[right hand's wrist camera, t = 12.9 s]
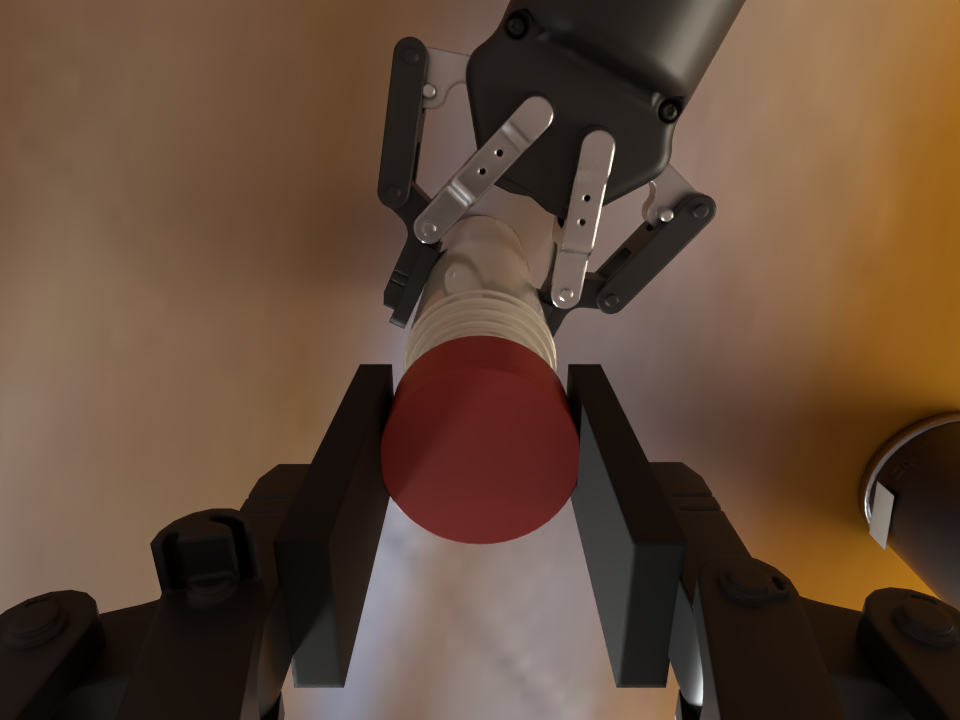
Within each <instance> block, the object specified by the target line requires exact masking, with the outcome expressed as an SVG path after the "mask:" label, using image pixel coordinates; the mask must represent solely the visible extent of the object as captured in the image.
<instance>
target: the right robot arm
mask: <svg viewBox="0 0 960 720" xmlns="http://www.w3.org/2000/svg"><path fill="white" fill-rule="evenodd" d="M393 398H394V392H393V375H392V364H360V365H359V367H358V369H357V372H356V374H355V376H354V378H353V380H352V382H351V384H350V386H349V388H348V390H347V392H346V394H345V396H344V398H343V400H342V402H341V404H340V406H339V408H338V410H337V412H336V414H335V416H334V418H333V420H332V422H331V424H330V426H329V428H328V430H327V432H326V434H325V436H324V438H323V440H322V442H321V444H320V446H319V449H318V451H317V453H316V455H315V457H314V459H313V461H312V463H311V464H278V465H277V466H276V467H274V468H273V469H271V470H270V471H269V472H267V473H266V474H265V475H263V476H262V477H261V478H259V480H258V481H257V483H256V485H255V486H254V488H253V489H252V491H251V493H250V494H249V499H246V501H245V502H244V504H243V506H242V507H241V509H240V511H238V510H234V509H231V508H229V509H209V510H204V511H200V512H195V513H192V514H189V515H187V516H185V517H182V518H180V519H178V520H175V521H174V522H172V523H171V524H169V525H168V526H167V527H165V528H164V529H162V530H161V531H159V533H158V534H157V535H156V537H155V538H154V539H153V541H152V542H151V543H150V545H151V549H152V554H153V558H154V562H155V566H156V570H157V574H158V579H159V583H160V587H161V591H162V595H161V597H160V599H158V600H155V601H152V602H149V603H145V604H142V605H138V606H133V607H129V608H124V609H120V610H115V611H111V612H107V613H102V614H99V611H98V608H97V604H96V601H95V600H94V599H93V598H92V597H91V596H90V595H88V594H87V593H85V592H80V591H74V590H65V591H56V592H49V593H46V594H43V595H40V596H36V597H34V598H30V599H27V600H26V601H24V602H22V603H20V604H18V605H16V606H14V607H12V608H10V609H8V610H6V611H5V612H4V613H2V614H1V615H0V720H284V715H285V712H284V706H283V699H282V693H281V689H282V686H283V683H284V680H285V677H286V674H287V671H288V669H289V666H290V663H291V667H292V674H293V681H294V687H295V688H344V685H345V681H346V677H347V672H348V668H349V664H350V660H351V656H352V652H353V647H354V643H355V639H356V635H357V631H358V627H359V622H360V618H361V614H362V610H363V606H364V602H365V597H366V593H367V589H368V585H369V581H370V577H371V572H372V568H373V564H374V560H375V556H376V552H377V547H378V543H379V539H380V535H381V531H382V527H383V523H384V518H385V514H386V510H387V506H388V502H389V498H390V495H389V493H388V491H387V488H386V486H385V484H384V481H383V474H382V460H381V437H382V433H383V430H384V427H385V424H386V421H387V417H388V414H389V411H390V408H391V405H392V401H393ZM567 400H568V403H569V406H570V409H571V412H572V415H573V419H574V422H575V425H576V428H577V431H578V435H579V438H580V451H579V465H578V479H577V483H576V485H575V488H574V490H573V492H572V494H571V500H572V504H573V509H574V513H575V517H576V521H577V525H578V529H579V534H580V538H581V542H582V546H583V550H584V554H585V558H586V563H587V567H588V571H589V575H590V579H591V583H592V588H593V592H594V596H595V600H596V604H597V608H598V613H599V617H600V621H601V625H602V629H603V633H604V638H605V642H606V646H607V650H608V654H609V658H610V662H611V667H612V671H613V675H614V679H615V683H616V687H617V688H666V683H667V676H668V670H669V663H670V662H671V664H672V667H673V670H674V673H675V676H676V679H677V682H678V684H679V693H678V699H677V705H676V711H675V717H674V720H960V611H959V610H957V609H956V608H954V607H952V606H950V605H948V604H946V603H944V602H943V601H941V600H939V599H937V598H935V597H932V596H929V595H926V594H923V593H920V592H917V591H914V590H910V589H901V588H892V587H890V588H884V589H879V590H874V591H873V592H872V593H871V594H870V595H869V596H868V597H867V598H866V599H865V603H864V606H863V609H862V612H860V611H856V610H852V609H847V608H843V607H838V606H834V605H829V604H825V603H821V602H817V601H813V600H810V599H807V598H803V597H801V596H799V594H798V592H797V590H796V588H795V587H794V585H793V584H792V582H791V581H790V579H788V578H787V577H786V576H785V575H783V574H782V573H781V572H780V571H779V570H777V569H776V568H775V567H772V566H770V565H768V564H766V563H764V562H762V561H760V560H758V559H754V558H752V557H751V555H750V554H749V552H748V551H747V549H746V547H745V546H744V544H743V543H742V541H741V539H740V538H739V536H738V534H737V533H736V531H735V530H734V528H733V526H732V525H731V523H730V522H729V520H728V518H727V517H726V515H725V514H724V512H723V511H721V507H720V506H719V504H718V502H717V501H716V499H715V498H714V497H712V493H711V491H710V490H709V488H708V486H707V485H706V483H705V481H704V480H703V478H702V477H701V476H700V475H698V474H697V473H696V472H694V471H693V470H692V469H690V468H689V467H688V466H686V465H685V464H684V463H682V462H648V460H647V458H646V456H645V454H644V452H643V450H642V448H641V446H640V444H639V442H638V440H637V438H636V436H635V434H634V432H633V429H632V427H631V425H630V423H629V421H628V419H627V417H626V415H625V413H624V411H623V409H622V407H621V405H620V403H619V401H618V399H617V397H616V395H615V393H614V391H613V389H612V387H611V385H610V383H609V381H608V379H607V377H606V375H605V373H604V371H603V369H602V367H601V365H600V364H568V381H567Z"/></svg>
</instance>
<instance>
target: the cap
mask: <svg viewBox="0 0 960 720" xmlns="http://www.w3.org/2000/svg"><path fill="white" fill-rule="evenodd" d="M579 451H580V438H579V435H578V431H577V428H576V425H575V422H574V419H573V415H572V412H571V409H570V406H569V403H568V400H567V396H566V393H565V390H564V388H563V385H562V383H561V381H560V379H559V378H558V376H557V375H556V373H555V372H554V370H553V369H552V368H551V367H550V365H549V364H548V363H547V362H546V361H545V360H544V359H543V358H541V357H540V356H539V355H538V354H537V353H535V352H534V351H532V350H530V349H529V348H527V347H525V346H523V345H521V344H519V343H517V342H514V341H511V340H508V339H505V338H500V337H495V336H483V335H478V336H466V337H460V338H456V339H453V340H449V341H446V342H444V343H442V344H439V345H437V346H435V347H433V348H432V349H430V350H429V351H427V352H425V353H424V354H423V355H422V356H420V357H419V358H418V359H417V360H416V361H415V362H414V363H413V364H412V365H411V366H410V367H409V368H408V369H407V371H406V372H405V374H404V375H403V377H402V378H401V380H400V382H399V384H398V386H397V389H396V392H395V395H394V398H393V401H392V405H391V408H390V411H389V414H388V417H387V421H386V424H385V427H384V430H383V433H382V437H381V460H382V474H383V481H384V484H385V486H386V488H387V491H388V493H389V495H390V496H391V498H392V499H393V501H394V502H395V504H396V505H397V506H398V507H399V509H400V510H401V511H402V512H403V513H404V514H405V515H406V516H407V517H408V518H409V519H410V520H411V521H413V522H414V523H415V524H417V525H418V526H420V527H421V528H423V529H425V530H426V531H428V532H430V533H432V534H434V535H437V536H439V537H442V538H445V539H448V540H452V541H455V542H461V543H467V544H493V543H499V542H505V541H509V540H513V539H516V538H519V537H521V536H524V535H526V534H529V533H530V532H532V531H534V530H536V529H538V528H539V527H541V526H542V525H544V524H545V523H547V522H548V521H549V520H550V519H551V518H553V517H554V516H555V515H556V514H557V513H558V512H559V511H560V509H561V508H562V507H563V506H564V505H565V503H566V502H567V500H568V499H569V497H570V496H571V494H572V492H573V490H574V488H575V485H576V483H577V479H578V465H579Z"/></svg>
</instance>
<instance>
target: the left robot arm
mask: <svg viewBox="0 0 960 720" xmlns="http://www.w3.org/2000/svg"><path fill="white" fill-rule="evenodd" d="M745 1H746V0H510V2H509V5H508V7H507V9H506V11H505V14H504V16H503V18H502V20H501V22H500V24H499V26H498V28H497V30H496V31H495V32H494V33H493V35H492V36H491V37H490V38H489V39H488V40H486V41H485V42H484V43H483V44H481V45H480V46H479V47H477V48H476V49H475V50H474V52H473V53H472V55H471V56H470V55H465V54H460V53H455V52H450V51H445V50H440V49H435V48H430V47H426V46H425V45H424V44H423V43H422V42H421V41H420V40H418V39H417V38H414V37H405V38H403V39H401V40H400V41H399V42H398V43H397V44H396V46H395V48H394V53H393V61H392V70H391V79H390V87H389V96H388V104H387V113H386V122H385V130H384V139H383V147H382V156H381V165H380V173H379V182H378V197H379V199H380V201H381V202H382V203H383V204H384V205H385V206H387V207H390V208H391V209H392V210H393V211H394V212H395V213H396V214H397V215H398V216H399V217H400V218H401V219H402V220H403V221H404V223H405V224H406V226H407V230H408V238H407V241H406V243H405V246H404V248H403V250H402V253H401V255H400V257H399V259H398V262H397V264H396V266H395V268H394V271H393V273H392V275H391V277H390V280H389V282H388V284H387V286H386V289H385V291H384V305H385V306H387V307H390V308H392V309H394V312H393V315H392V317H391V319H390V321H389V322H390V323H392V324H395V325H397V326H399V327H401V328H403V329H404V328H405V326H406V324H407V322H408V320H409V318H410V315H411V313H412V311H413V309H414V307H415V305H416V303H417V300H418V298H419V296H420V294H421V292H422V290H423V288H424V285H425V283H426V281H427V279H428V276H429V274H430V272H431V270H432V268H433V266H434V264H435V262H436V260H437V258H438V255H439V253H440V250H441V247H442V244H443V242H441V241H440V240H441V238H442V237H443V236H444V235H445V233H446V232H447V231H448V230H449V229H450V228H451V227H452V226H453V225H454V224H455V223H456V222H457V221H458V220H459V219H460V218H461V216H462V215H463V214H464V213H465V212H466V211H467V210H468V209H469V208H470V207H471V206H473V205H474V204H475V203H476V202H477V201H478V200H479V199H480V198H481V197H482V196H483V195H484V194H485V192H486V191H487V190H488V189H489V188H490V187H491V186H492V185H493V184H494V185H496V186H498V187H500V188H502V189H504V190H506V191H508V192H510V193H514V194H519V195H524V196H529V197H532V198H533V199H534V200H535V201H536V202H537V203H538V204H539V205H540V206H542V207H543V208H544V209H545V210H546V211H547V212H549V213H551V214H553V215H555V219H554V225H553V231H552V245H551V251H550V256H549V262H548V267H547V273H546V278H545V281H544V283H543V285H542V287H541V289H538V288H536V290H537V293H538V296H539V299H540V302H541V305H542V308H543V311H544V314H545V317H546V320H547V323H548V326H549V329H550V332H551V335H552V338H553V337H554V335H555V333H556V332H557V330H558V328H559V326H560V324H561V323H562V321H563V319H564V317H565V316H566V315H567V313H569V312H570V311H571V310H573V309H575V308H580V307H584V308H594V309H600V310H601V311H602V312H604V313H607V314H614V313H617V312H619V311H620V310H621V309H623V308H624V307H625V306H626V305H627V304H628V303H629V302H630V301H631V300H632V299H633V298H634V297H635V296H636V295H637V294H638V293H639V292H640V291H641V290H642V289H643V288H644V287H645V286H646V285H647V284H648V283H649V282H650V281H651V280H652V279H653V278H654V277H655V276H656V275H657V274H658V273H659V272H660V271H661V270H662V269H663V268H664V267H665V266H666V265H667V264H668V263H669V262H670V261H671V260H672V259H673V258H674V257H675V256H676V255H677V254H678V253H679V252H680V251H681V250H682V249H683V248H684V247H685V246H686V245H687V244H688V243H689V242H690V241H691V240H692V239H693V238H694V237H695V236H696V235H697V234H698V233H699V232H700V231H701V230H702V229H703V228H704V227H706V226H707V225H708V224H709V223H710V222H711V220H712V219H713V218H714V216H715V213H716V204H715V202H714V200H713V199H712V198H711V197H709V196H707V195H704V194H703V193H700V192H697V191H695V190H694V189H693V188H692V187H691V186H690V185H689V184H688V182H687V181H686V180H685V179H684V178H683V177H682V176H681V175H680V174H679V173H678V172H677V171H676V170H675V169H674V168H673V167H672V166H671V165H670V164H669V161H670V157H671V152H672V137H673V132H674V129H675V126H676V123H677V121H678V119H679V117H680V116H681V114H682V112H683V111H684V109H685V107H686V105H687V104H688V102H689V100H690V98H691V97H692V95H693V93H694V91H695V89H696V88H697V86H698V84H699V82H700V81H701V79H702V77H703V75H704V73H705V72H706V70H707V68H708V66H709V65H710V63H711V61H712V59H713V57H714V56H715V54H716V52H717V50H718V49H719V47H720V45H721V43H722V41H723V40H724V38H725V36H726V34H727V33H728V31H729V29H730V27H731V26H732V24H733V22H734V20H735V18H736V17H737V15H738V13H739V11H740V9H741V8H742V6H743V4H744V2H745ZM460 83H466V85H467V91H468V97H469V103H470V109H471V115H472V121H473V127H474V133H475V139H476V145H477V150H476V151H475V152H474V153H473V154H472V155H471V157H470V158H469V159H468V160H467V161H466V162H465V163H464V164H463V165H462V166H461V168H460V169H459V170H458V171H457V172H456V173H455V174H454V175H453V176H452V178H451V179H450V180H449V181H448V182H447V183H446V184H445V185H444V187H443V188H442V189H441V190H440V191H439V192H438V193H437V194H436V195H435V196H434V198H433V199H431V198H430V197H429V196H428V195H427V194H426V193H425V192H424V191H423V190H422V189H421V188H420V187H419V186H418V185H417V184H416V178H417V171H418V164H419V156H420V149H421V142H422V135H423V127H424V120H425V113H426V109H437V108H440V107H441V106H442V105H443V104H444V103H445V101H446V99H447V95H448V93H449V91H450V89H451V88H452V87H453V86H455V85H457V84H460ZM647 183H649V186H650V194H649V197H648V198H647V200H646V201H645V203H644V204H643V207H642V216H643V218H644V220H645V222H644V223H643V224H642V225H641V226H640V227H639V228H638V229H637V230H636V231H635V232H634V233H633V234H632V235H631V236H630V237H629V238H628V239H627V240H626V241H625V242H624V243H623V244H622V245H621V246H620V247H619V248H618V249H617V250H616V251H615V252H614V253H613V254H612V255H611V256H610V258H609V259H608V260H607V261H606V262H605V263H604V264H603V265H602V266H601V267H600V268H599V269H598V270H597V271H596V272H595V273H592V272H586V267H587V262H588V258H589V255H590V254H591V252H592V250H593V246H594V241H595V236H596V231H597V227H598V222H599V217H600V212H601V207H603V206H605V205H607V204H609V203H611V202H612V201H614V200H616V199H618V198H620V197H622V196H624V195H626V194H628V193H630V192H631V191H633V190H635V189H637V188H639V187H641V186H643V185H645V184H647ZM859 504H860V510H861V513H862V516H863V518H864V520H865V522H866V523H867V525H868V526H869V528H870V532H869V534H870V535H871V536H872V537H873V538H874V539H875V540H876V541H877V542H878V543H879V544H880V545H881V546H882V548H883V549H884V550H885V547H886V544H887V545H888V546H890V547H891V548H892V549H893V550H894V551H895V552H896V553H897V555H898V556H899V557H900V558H901V559H902V560H903V561H904V562H905V563H906V564H907V565H908V566H909V567H910V568H911V569H912V570H913V571H914V573H915V574H916V575H917V576H918V577H919V578H920V579H921V580H922V581H923V582H924V583H925V584H926V585H927V586H928V587H929V588H930V589H931V590H932V591H933V592H934V593H935V594H936V595H937V596H938V597H939V598H940V599H941V600H942V601H943V602H944V603H946V604H948V605H950V606H952V607H954V608H956V609H957V610H959V611H960V412H956V413H947V414H942V415H938V416H934V417H931V418H928V419H925V420H922V421H920V422H918V423H916V424H914V425H912V426H910V427H908V428H906V429H905V430H903V431H902V432H900V433H899V434H897V435H896V436H895V437H893V438H892V439H891V440H890V441H888V442H887V443H886V444H885V445H884V446H883V447H882V448H881V449H880V451H879V452H878V453H877V454H876V455H875V457H874V458H873V459H872V461H871V462H870V464H869V466H868V468H867V470H866V471H865V474H864V476H863V479H862V482H861V486H860V492H859Z"/></svg>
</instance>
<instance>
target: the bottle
mask: <svg viewBox="0 0 960 720" xmlns="http://www.w3.org/2000/svg"><path fill="white" fill-rule="evenodd" d="M441 242H443V244H442V247H441V250H440V253H439V255H438V258H437V260H436V262H435V264H434V266H433V268H432V270H431V272H430V274H429V276H428V279H427V282H426V285H425V288H424V291H423V294H422V297H421V300H420V303H419V306H418V309H417V312H416V315H415V318H414V321H413V324H412V327H411V330H410V333H409V336H408V339H407V342H406V346H405V352H404V374H405V372H406V371H407V369H408V368H409V367H410V366H411V365H412V364H413V363H414V362H415V361H416V360H417V359H418V358H419V357H420V356H422V355H423V354H424V353H425V352H427V351H429V350H430V349H432V348H433V347H435V346H437V345H439V344H442V343H444V342H446V341H449V340H453V339H456V338H460V337H466V336H478V335H483V336H495V337H500V338H505V339H508V340H511V341H514V342H517V343H519V344H521V345H523V346H525V347H527V348H529V349H530V350H532V351H534V352H535V353H537V354H538V355H539V356H540V357H541V358H543V359H544V360H545V361H546V362H547V363H548V364H549V365H550V367H551V368H552V369H553V370H554V372H555V373H556V361H557V360H556V349H555V345H554V341H553V338H552V335H551V332H550V329H549V326H548V323H547V320H546V317H545V314H544V311H543V308H542V305H541V302H540V299H539V296H538V293H537V290H536V287H535V284H534V281H533V278H532V275H531V272H530V269H529V266H528V263H527V260H526V257H525V254H524V251H523V248H522V245H521V243H520V240H519V239H518V237H517V235H516V234H515V232H514V231H513V230H512V229H511V228H510V227H509V226H508V225H506V224H505V223H503V222H502V221H500V220H498V219H496V218H492V217H488V216H472V217H468V218H465V219H462V220H460V221H458V222H457V223H455V224H454V225H453V226H452V227H451V228H450V229H449V230H448V231H447V232H446V233H445V235H444V236H443V237H442V239H441Z"/></svg>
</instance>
